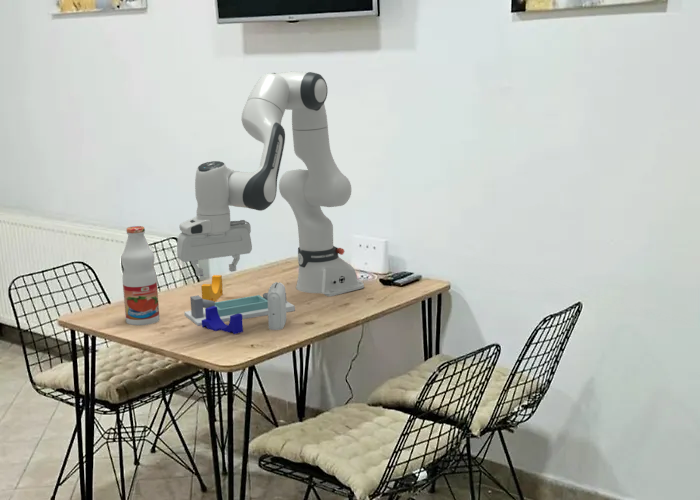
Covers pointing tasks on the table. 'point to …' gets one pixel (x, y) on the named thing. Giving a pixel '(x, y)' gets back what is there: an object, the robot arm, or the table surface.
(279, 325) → the photo printer
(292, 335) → the table surface
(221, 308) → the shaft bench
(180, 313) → the table surface
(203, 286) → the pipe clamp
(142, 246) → the fruit juice
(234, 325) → the blue curved cradle
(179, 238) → the robot arm
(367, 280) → the table surface
